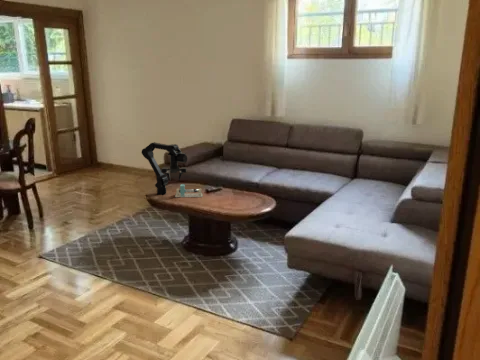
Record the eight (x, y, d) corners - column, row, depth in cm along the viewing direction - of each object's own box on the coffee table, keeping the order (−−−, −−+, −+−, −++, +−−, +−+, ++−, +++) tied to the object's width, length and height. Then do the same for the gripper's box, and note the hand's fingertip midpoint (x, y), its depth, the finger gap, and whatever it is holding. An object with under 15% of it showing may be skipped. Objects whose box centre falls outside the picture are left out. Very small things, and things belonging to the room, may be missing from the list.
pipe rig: (175, 197, 319) (174, 190, 317) (175, 194, 326) (175, 187, 325) (202, 197, 320) (202, 190, 319) (202, 194, 328) (202, 187, 326)
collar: (180, 194, 320) (180, 186, 318) (180, 192, 325) (180, 184, 323) (184, 194, 320) (184, 186, 318) (184, 192, 325) (184, 184, 323)
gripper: (160, 163, 307) (161, 183, 311) (185, 163, 308) (186, 183, 312) (162, 160, 318) (162, 179, 322) (186, 160, 319) (186, 179, 323)
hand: (174, 180), depth 319 cm, fingers open, 7 cm apart
